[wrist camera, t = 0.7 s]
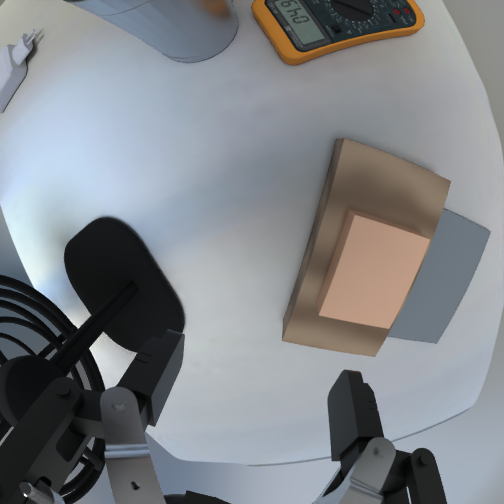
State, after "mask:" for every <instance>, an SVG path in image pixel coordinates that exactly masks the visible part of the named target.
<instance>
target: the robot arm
mask: <svg viewBox="0 0 504 504" xmlns="http://www.w3.org/2000/svg"><path fill="white" fill-rule="evenodd" d="M64 1H66V2H68V3H71V4H73V5H75V6H77V7H80V8H82V9H84V10H86V11H88V12H90V13H93V14H95V15H97V16H99V17H101V18H103V19H104V20H106V21H108V22H110V23H112V24H114V25H116V26H118V27H119V28H121V29H123V30H125V31H127V32H128V33H130V34H132V35H133V36H135V37H137V38H139V39H140V40H142V41H144V42H145V43H147V44H148V45H150V46H152V47H153V48H155V49H156V50H158V51H160V52H161V53H162V54H164V55H165V56H167V57H169V58H171V59H173V60H175V61H178V62H185V63H190V62H198V61H203V60H206V59H208V58H211V57H213V56H215V55H216V54H218V53H220V52H221V51H222V50H223V49H225V48H226V47H227V46H228V45H229V44H230V42H231V41H232V40H233V38H234V36H235V34H236V32H237V28H238V18H237V14H236V12H235V10H234V7H233V5H232V1H233V0H64ZM184 339H185V335H184V334H182V333H179V332H176V331H172V330H169V329H168V330H167V331H166V332H165V334H164V335H163V337H162V339H159V338H156V337H152V338H151V339H149V340H148V341H146V342H144V344H143V345H142V347H141V348H140V350H139V353H137V355H136V356H135V358H134V359H133V361H132V362H131V364H130V366H129V367H128V369H127V370H126V372H125V373H124V375H123V377H122V378H121V380H120V381H119V383H118V384H117V385H116V386H115V387H112V388H109V389H107V390H105V391H103V392H98V391H92V390H86V389H81V388H80V387H79V385H78V383H77V382H76V381H75V380H73V379H71V378H68V377H59V378H56V379H55V380H53V381H52V382H51V383H50V384H49V385H48V387H47V388H46V389H45V390H44V391H43V392H42V394H41V395H40V396H39V397H38V398H37V400H36V401H35V402H34V403H33V405H32V406H31V407H30V408H29V409H28V411H27V412H26V413H25V414H24V416H23V417H22V418H21V420H20V421H19V422H18V423H17V425H16V426H15V427H14V429H13V430H12V431H11V432H10V434H9V435H8V437H7V438H6V439H5V441H4V442H3V443H2V445H1V446H0V504H65V503H64V500H63V498H62V497H61V495H60V494H59V491H60V489H61V488H62V486H63V484H64V483H65V481H66V479H67V477H68V476H69V474H70V472H71V471H72V469H73V467H74V466H75V464H76V462H77V461H78V459H79V457H80V456H81V454H82V453H83V451H84V449H85V448H86V446H87V444H88V443H89V441H90V440H91V438H92V437H96V438H102V439H105V445H106V450H105V461H106V466H107V470H108V475H109V480H110V484H111V488H112V492H113V496H114V499H115V503H116V504H230V503H228V502H225V501H223V500H221V499H218V498H216V497H211V496H207V495H203V494H199V493H195V492H191V491H188V490H187V491H186V494H170V495H163V494H162V491H161V488H160V485H159V482H158V479H157V476H156V473H155V470H154V467H153V463H152V460H151V457H150V453H149V450H148V446H147V442H146V439H145V435H144V432H145V430H146V428H147V425H148V424H149V425H151V426H154V427H155V425H156V423H157V421H158V419H159V416H160V414H161V412H162V409H163V407H164V405H165V403H166V400H167V398H168V396H169V394H170V391H171V389H172V387H173V384H174V382H175V380H176V378H177V376H178V373H179V371H180V368H181V365H182V361H183V352H184ZM377 409H378V408H377V403H376V399H375V395H374V392H373V390H372V389H371V387H370V386H369V385H368V383H363V378H362V374H361V372H359V371H352V370H343V371H342V372H341V374H340V376H339V377H338V379H337V380H336V382H335V384H334V385H333V387H332V388H331V390H330V392H329V395H328V414H329V426H330V440H331V457H332V461H340V462H341V466H340V467H339V468H338V469H337V471H336V472H335V474H334V476H333V477H332V479H331V480H330V482H329V483H328V484H327V486H326V487H325V489H324V490H323V492H322V493H321V494H320V496H319V497H318V498H317V500H316V501H314V502H313V503H312V504H410V503H409V498H408V493H407V488H406V487H408V488H409V493H410V498H411V504H447V501H446V497H445V493H444V489H443V485H442V482H441V477H440V474H439V470H438V467H437V464H436V460H435V457H434V455H433V454H432V452H430V450H428V449H425V448H418V449H416V450H415V451H414V452H413V453H407V452H403V451H399V450H396V449H395V447H394V445H393V444H392V442H391V441H389V440H388V439H386V438H384V434H383V430H382V425H381V421H380V416H379V412H378V410H377Z"/></svg>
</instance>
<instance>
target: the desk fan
mask: <svg viewBox="0 0 504 504" xmlns="http://www.w3.org/2000/svg"><path fill="white" fill-rule="evenodd" d="M64 263H65V268H66V272H67V275H68V278H69V280H70V282H71V284H72V286H73V288H74V290H75V291H76V293H77V295H78V296H79V298H80V299H81V301H82V302H83V304H84V305H85V307H86V308H87V309H88V311H89V312H90V314H91V316H90V317H89V318H88V319H87V320H86V321H85V322H84V324H83V325H82V326H81V327H80V328H79V329H78V328H77V327H76V326H75V325H73V324H72V322H71V321H70V320H69V319H68V318H67V316H66V315H65V314H64V313H63V312H62V311H61V310H60V309H59V308H58V307H57V306H56V305H55V304H54V303H53V302H52V301H50V300H49V299H48V298H47V297H45V296H44V295H43V294H41V293H40V292H39V291H37V290H36V289H34V288H32V287H31V286H29V285H27V284H25V283H23V282H21V281H19V280H16V279H13V278H10V277H7V276H4V275H0V285H3V286H7V287H10V288H13V289H16V290H18V291H20V292H22V293H24V294H26V295H28V296H29V297H31V298H33V299H34V300H33V299H31V298H29V297H27V296H25V295H23V294H21V293H18V292H15V291H12V290H7V289H2V288H0V297H4V298H9V299H13V300H16V301H18V302H21V303H23V304H25V305H27V306H29V307H31V308H33V309H34V310H36V311H38V312H39V313H40V314H42V315H43V316H44V317H46V318H47V319H48V320H49V321H50V322H51V323H52V324H53V325H54V326H55V327H56V328H57V329H58V330H59V331H60V332H61V333H62V334H60V335H59V336H58V337H57V336H56V335H55V334H54V333H53V332H52V331H51V330H50V329H49V328H48V327H47V326H46V325H45V324H44V323H43V322H42V321H41V320H40V319H39V318H37V317H36V316H35V315H33V314H32V313H30V312H29V311H27V310H26V309H24V308H22V307H20V306H18V305H16V304H13V303H11V302H8V301H5V300H0V307H2V308H6V309H9V310H11V311H14V312H16V313H18V314H20V315H22V316H24V317H25V318H27V319H28V320H30V321H31V322H33V323H34V324H33V323H31V322H28V321H26V320H23V319H20V318H15V317H0V323H5V322H7V323H15V324H19V325H22V326H25V327H28V328H30V329H32V330H34V331H35V332H37V333H39V334H40V335H42V336H43V337H44V338H45V339H47V340H48V341H49V342H50V344H49V345H48V346H46V347H45V348H44V349H43V350H42V351H41V352H40V353H39V354H38V355H36V354H35V353H34V352H33V351H32V350H31V349H30V348H29V347H27V345H25V344H24V343H22V342H21V341H20V340H18V339H16V338H14V337H12V336H10V335H7V334H4V333H0V337H2V338H5V339H8V340H10V341H13V342H15V343H16V344H18V345H19V346H21V347H22V348H23V349H25V350H26V351H27V352H28V353H29V354H30V355H25V356H19V357H16V358H13V359H10V360H7V358H6V357H5V356H4V355H3V353H2V352H1V350H0V365H1V367H0V441H1V440H2V438H3V437H4V436H5V434H6V433H7V432H8V430H9V429H10V428H11V427H12V426H13V427H15V426H16V425H17V423H18V422H19V421H20V420H21V418H22V417H23V416H24V414H25V413H26V412H27V411H28V409H29V408H30V407H31V406H32V405H33V403H34V402H35V401H36V400H37V398H38V397H39V396H40V395H41V394H42V392H43V391H44V390H45V389H46V388H47V387H48V385H49V384H50V383H51V382H52V381H53V380H55V379H56V378H59V377H66V376H67V375H68V373H69V372H70V371H71V374H72V376H73V379H74V380H75V381H76V382H77V383H78V385H79V387H80V388H81V389H84V386H83V383H82V380H81V378H80V375H79V373H78V371H77V368H76V366H75V365H76V363H77V362H78V361H79V360H80V361H81V363H82V365H83V368H84V370H85V372H86V375H87V377H88V380H89V383H90V386H91V389H92V391H98V392H103V391H105V390H106V389H105V386H104V382H103V379H102V376H101V374H100V371H99V369H98V366H97V364H96V362H95V359H94V357H93V355H92V353H91V351H90V349H89V348H90V347H91V345H92V344H93V343H94V342H95V341H96V339H97V338H98V337H99V336H100V335H101V334H102V332H103V331H104V332H105V333H106V334H107V335H108V336H109V337H110V338H111V339H112V340H113V341H114V342H116V343H117V344H118V345H120V346H122V347H123V348H125V349H127V350H130V351H133V352H138V353H139V350H140V348H141V347H142V345H143V344H144V342H146V341H148V340H149V339H151V338H152V337H156V338H159V339H162V337H163V335H164V334H165V332H166V331H167V330H168V329H169V330H172V331H176V332H179V333H182V332H183V328H184V318H183V313H182V310H181V307H180V305H179V303H178V301H177V299H176V297H175V295H174V294H173V292H172V291H171V289H170V288H169V286H168V285H167V283H166V282H165V280H164V278H163V277H162V275H161V274H160V272H159V271H158V269H157V268H156V266H155V264H154V263H153V261H152V260H151V258H150V256H149V255H148V253H147V251H146V250H145V248H144V247H143V245H142V244H141V242H140V241H139V240H138V238H137V237H136V236H135V235H134V234H133V233H132V232H131V231H130V230H129V229H128V228H127V227H126V226H124V225H123V224H121V223H120V222H118V221H116V220H113V219H110V218H99V219H96V220H94V221H92V222H91V223H89V224H88V225H87V226H86V227H85V228H84V229H82V230H81V231H80V232H79V233H78V234H77V235H76V236H74V237H73V238H72V239H71V240H70V241H69V242H68V243H67V245H66V248H65V252H64ZM35 300H36V301H35ZM38 302H39V303H38ZM66 339H67V340H66ZM65 340H66V341H65ZM63 341H65V343H64V344H62V342H63ZM55 348H56V349H57V350H58V351H57V352H56V353H55V355H54V356H53V357H52V358H51V359H50V360H47V359H45V357H46V356H47V355H48V354H49V353H50V352H52V351H53V350H54V349H55ZM105 450H106V445H105V439H102V438H96V437H95V440H94V445H93V449H92V451H91V450H90V449H89V448H88V447H87V446H86V448H85V449H84V451H83V453H82V454H81V456H80V457H79V459H78V461H77V462H76V464H75V466H74V467H73V469H72V471H73V470H74V469H75V467H76V466H77V465H78V463H79V462H80V463H82V464H84V465H85V466H84V468H83V469H82V470H81V472H80V473H79V474H78V475H77V476H76V477H75V478H74V479H72V480H71V481H70V482H68V483H67V484H65V485H63V486H62V488H61V489H60V491H59V494H60V495H61V496H62V495H64V494H67V493H69V492H71V491H72V492H71V493H69V494H68V495H66V496H64V497H62V498H63V500H64V503H65V504H73V503H75V502H76V501H78V500H79V499H81V498H82V497H83V496H84V495H85V494H86V493H88V492H89V490H90V489H91V488H92V487H93V486H94V484H95V483H96V481H97V480H98V478H99V477H100V475H101V473H102V470H103V468H104V466H105V463H106V461H105ZM83 454H84V455H85V456H87V458H88V459H86V458H84V457H83V456H82V455H83ZM72 471H71V472H72ZM71 472H70V473H71ZM78 486H79V487H78ZM74 489H75V490H74ZM73 490H74V491H73Z"/></svg>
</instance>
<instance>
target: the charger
mask: <svg viewBox="0 0 504 504" xmlns="http://www.w3.org/2000/svg"><path fill="white" fill-rule="evenodd" d="M34 31H35V29H33V30H32V31H31V32H30V34H29V35H27V34H24V35H23V36H22V38H21V39H20V40H19V42H18V43H17V44H16V45H6V46H4V47H3V49H2V50H1V52H0V113H2V112H3V111H4V109H5V107H6V106H7V104H8V102H9V100H10V99H11V97H12V96H13V94H14V92H15V91H16V89H17V88H18V86H19V85H20V83H21V82H22V80H23V79H24V77H25V76H26V72H27V65H26V61H25V58H26V56H27V55H28V54H29V52H30V51H31V50H32V47H33V44H32V40H33V39H34V37H35V36H36V34H34V35H33V37H32V38H31V39H30V36H31V34H32V33H33V32H34Z"/></svg>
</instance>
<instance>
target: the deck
mask: <svg viewBox="0 0 504 504" xmlns="http://www.w3.org/2000/svg"><path fill="white" fill-rule="evenodd" d="M450 183H451V181H449V180H447V179H445V178H443V177H441V176H439V175H437V174H435V173H433V172H431V171H428V170H426V169H424V168H422V167H420V166H417V165H415V164H413V163H410V162H408V161H406V160H403V159H401V158H398V157H396V156H393V155H391V154H388V153H386V152H383V151H380V150H378V149H375V148H372V147H369V146H367V145H364V144H361V143H358V142H355V141H352V140H349V139H346V138H342V139H336V142H335V147H334V151H333V155H332V159H331V163H330V167H329V170H328V174H327V178H326V182H325V186H324V189H323V193H322V197H321V200H320V204H319V207H318V211H317V215H316V218H315V222H314V225H313V228H312V232H311V235H310V239H309V242H308V245H307V248H306V252H305V255H304V258H303V261H302V265H301V268H300V271H299V274H298V277H297V280H296V283H295V287H294V290H293V293H292V296H291V299H290V302H289V305H288V308H287V311H286V313H285V316H284V319H283V333H282V341H285V342H290V343H295V344H300V345H305V346H310V347H315V348H321V349H327V350H332V351H338V352H345V353H351V354H358V355H365V356H372V357H375V356H376V354H377V353H378V351H379V349H380V348H381V346H382V344H383V342H384V341H385V339H386V337H387V336H388V334H389V332H390V330H391V328H392V327H393V325H394V323H395V321H396V319H397V317H398V315H399V313H400V312H401V310H402V308H403V306H404V304H405V302H406V300H407V298H408V296H409V293H410V291H411V289H412V287H413V285H414V283H415V281H416V278H417V276H418V274H419V272H420V269H421V267H422V265H423V262H424V260H425V257H426V255H427V252H428V250H429V247H430V245H431V242H432V239H433V237H434V234H435V231H436V228H437V225H438V223H439V220H440V217H441V214H442V210H443V207H444V204H445V201H446V197H447V194H448V190H449V187H450ZM348 208H349V209H353V210H356V211H359V212H363V213H366V214H369V215H372V216H375V217H378V218H382V219H385V220H388V221H391V222H394V223H397V224H400V225H403V226H405V227H408V228H411V229H414V230H417V231H419V232H421V233H422V234H423V235H425V236H426V237H427V238H429V239H430V241H429V244H428V247H427V249H426V252H425V254H424V257H423V259H422V262H421V264H420V266H419V269H418V271H417V273H416V276H415V278H414V280H413V282H412V284H411V287H410V289H409V291H408V293H407V295H406V297H405V299H404V301H403V303H402V305H401V307H400V309H399V311H398V313H397V315H396V317H395V319H394V321H393V323H392V324H391V326H390V328H389V329H387V328H381V327H376V326H370V325H365V324H359V323H354V322H349V321H344V320H339V319H334V318H329V317H324V316H319V315H318V309H317V302H316V301H317V299H318V296H319V293H320V291H321V288H322V285H323V283H324V280H325V277H326V274H327V272H328V269H329V266H330V263H331V260H332V257H333V254H334V251H335V248H336V245H337V242H338V239H339V236H340V233H341V230H342V227H343V224H344V221H345V217H346V214H347V211H348Z"/></svg>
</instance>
